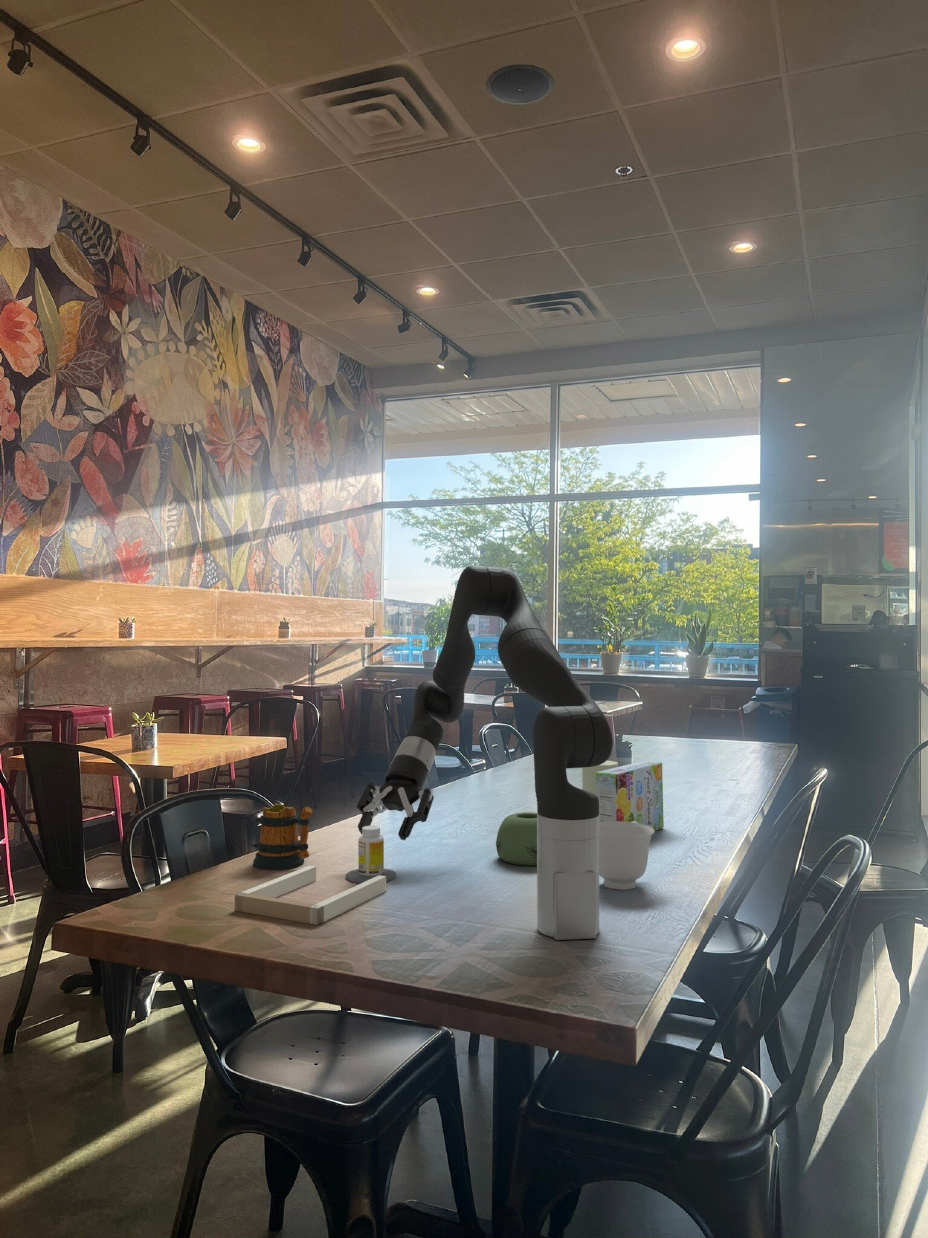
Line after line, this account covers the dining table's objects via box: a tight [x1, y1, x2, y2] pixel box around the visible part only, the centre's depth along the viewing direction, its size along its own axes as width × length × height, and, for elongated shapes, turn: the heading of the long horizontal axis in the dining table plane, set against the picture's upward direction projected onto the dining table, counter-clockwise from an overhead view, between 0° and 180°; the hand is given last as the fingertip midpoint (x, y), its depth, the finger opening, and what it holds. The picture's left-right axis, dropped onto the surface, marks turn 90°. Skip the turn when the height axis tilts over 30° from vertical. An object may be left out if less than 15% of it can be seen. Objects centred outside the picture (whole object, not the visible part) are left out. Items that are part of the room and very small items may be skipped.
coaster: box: [345, 868, 397, 884], centre depth 162 cm, size 9×9×1 cm
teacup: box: [599, 821, 656, 891], centre depth 158 cm, size 12×15×10 cm
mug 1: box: [251, 803, 313, 871], centre depth 171 cm, size 13×10×12 cm
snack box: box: [596, 760, 665, 832], centre depth 197 cm, size 21×6×15 cm, turn 141°
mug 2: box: [495, 811, 537, 866], centre depth 176 cm, size 16×13×9 cm
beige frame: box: [234, 865, 387, 926], centre depth 148 cm, size 20×16×2 cm
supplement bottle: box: [357, 825, 385, 877], centre depth 162 cm, size 5×5×8 cm
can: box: [581, 760, 619, 795], centre depth 227 cm, size 9×9×12 cm
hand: (381, 835), depth 166 cm, fingers open, 8 cm apart
